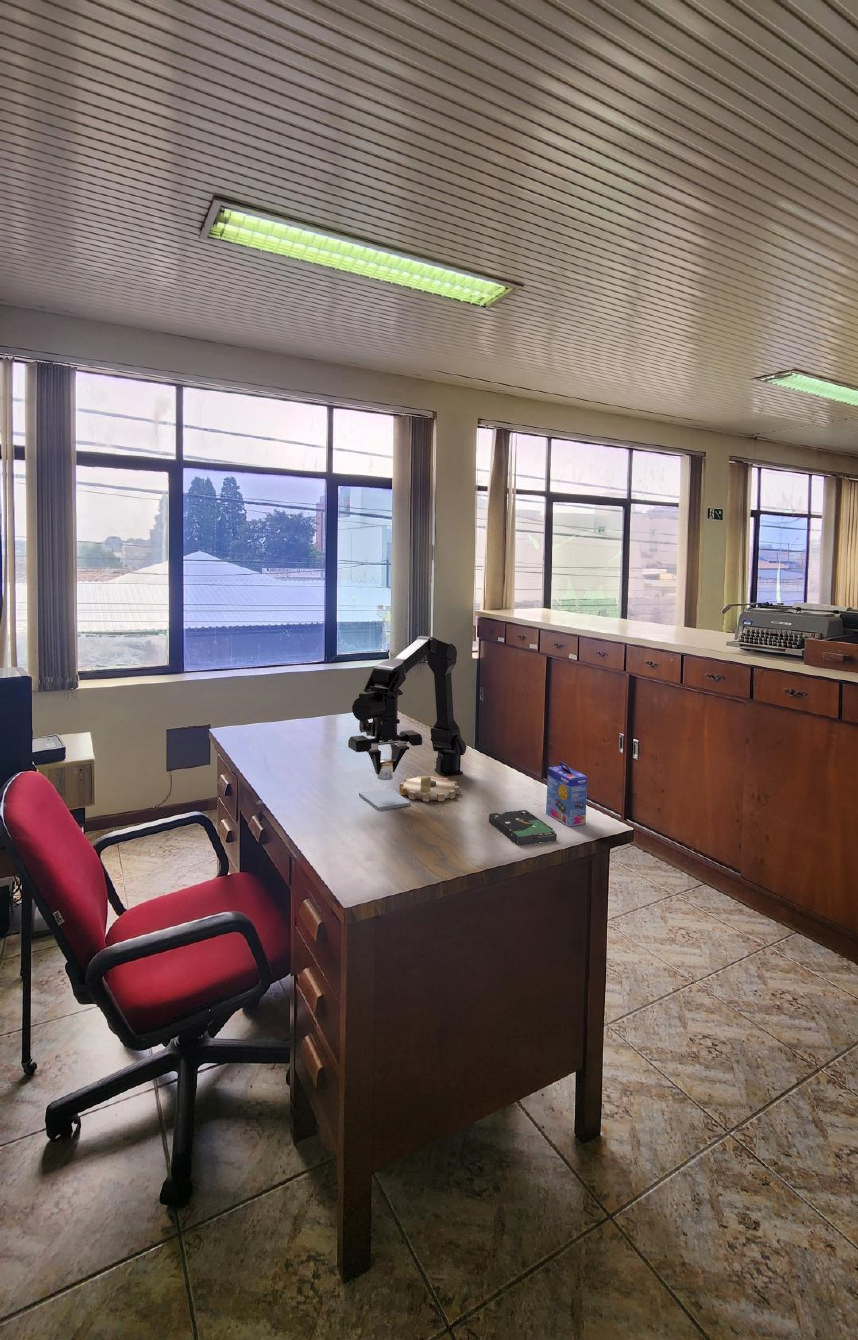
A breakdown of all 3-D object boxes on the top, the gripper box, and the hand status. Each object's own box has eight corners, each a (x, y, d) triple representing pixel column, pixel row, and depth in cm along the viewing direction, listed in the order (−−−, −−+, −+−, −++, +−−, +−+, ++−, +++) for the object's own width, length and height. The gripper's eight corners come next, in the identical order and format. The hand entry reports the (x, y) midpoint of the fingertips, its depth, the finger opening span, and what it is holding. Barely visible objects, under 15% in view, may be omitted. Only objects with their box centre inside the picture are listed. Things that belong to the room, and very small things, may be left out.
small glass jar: (388, 774, 176) (389, 758, 176) (395, 779, 173) (396, 762, 172) (374, 776, 174) (374, 759, 174) (381, 781, 171) (381, 764, 170)
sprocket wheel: (407, 779, 192) (408, 761, 191) (463, 785, 188) (464, 766, 188) (392, 797, 176) (393, 778, 175) (452, 804, 173) (453, 784, 172)
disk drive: (487, 824, 162) (517, 848, 149) (487, 813, 162) (518, 836, 148) (525, 819, 166) (557, 842, 153) (525, 809, 166) (558, 830, 152)
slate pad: (389, 791, 182) (389, 788, 182) (410, 805, 172) (410, 802, 172) (359, 795, 178) (359, 792, 177) (378, 810, 167) (378, 807, 167)
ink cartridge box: (543, 813, 169) (547, 757, 167) (562, 810, 172) (565, 755, 169) (567, 827, 160) (571, 769, 158) (586, 824, 163) (590, 766, 161)
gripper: (404, 705, 183) (402, 760, 185) (340, 710, 174) (339, 768, 176) (424, 713, 173) (422, 772, 176) (357, 719, 164) (356, 781, 166)
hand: (385, 773), depth 174 cm, fingers closed on small glass jar, 4 cm apart
